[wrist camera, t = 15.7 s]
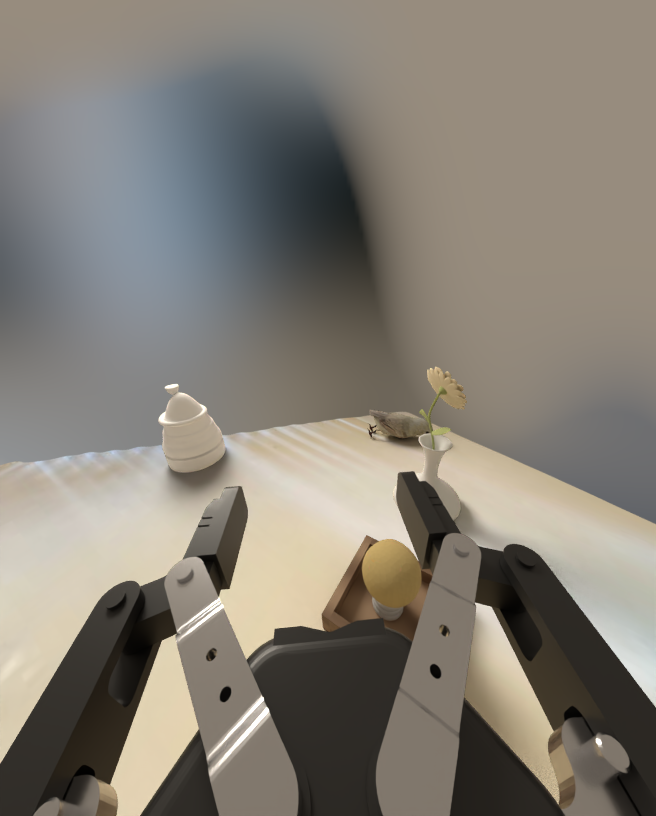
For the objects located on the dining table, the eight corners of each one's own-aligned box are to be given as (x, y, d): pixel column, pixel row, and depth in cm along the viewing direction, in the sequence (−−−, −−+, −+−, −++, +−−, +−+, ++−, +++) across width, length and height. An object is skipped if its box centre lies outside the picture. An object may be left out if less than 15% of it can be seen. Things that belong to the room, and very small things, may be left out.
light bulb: (387, 569, 36) (392, 519, 31) (425, 613, 31) (437, 561, 27) (351, 597, 33) (350, 546, 28) (386, 651, 28) (393, 600, 24)
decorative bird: (432, 446, 63) (436, 419, 60) (366, 440, 67) (367, 414, 63) (429, 434, 68) (433, 409, 65) (368, 429, 71) (369, 405, 68)
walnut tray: (425, 706, 25) (429, 694, 24) (323, 627, 31) (321, 614, 30) (449, 592, 34) (453, 578, 33) (366, 548, 40) (366, 535, 39)
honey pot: (158, 460, 63) (130, 392, 55) (206, 436, 72) (188, 374, 64) (187, 480, 56) (159, 405, 48) (236, 450, 65) (219, 383, 57)
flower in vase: (469, 533, 42) (512, 389, 30) (397, 530, 43) (413, 390, 31) (444, 477, 53) (468, 359, 42) (387, 476, 54) (397, 360, 43)
